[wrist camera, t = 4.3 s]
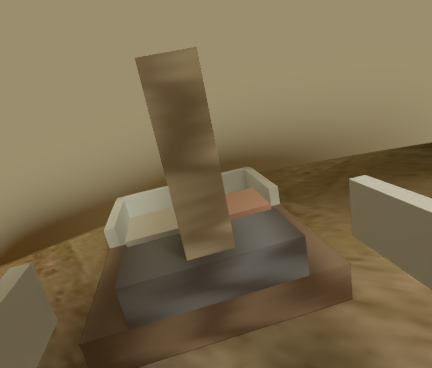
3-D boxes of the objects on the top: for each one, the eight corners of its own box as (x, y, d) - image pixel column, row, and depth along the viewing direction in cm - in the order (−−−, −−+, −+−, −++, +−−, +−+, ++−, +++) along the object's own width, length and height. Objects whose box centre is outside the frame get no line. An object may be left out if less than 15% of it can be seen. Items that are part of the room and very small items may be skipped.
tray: (254, 199, 41) (249, 166, 40) (283, 228, 32) (277, 186, 30) (127, 232, 39) (117, 198, 38) (118, 274, 30) (103, 230, 28)
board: (283, 228, 32) (279, 203, 31) (352, 299, 21) (350, 263, 20) (118, 274, 30) (109, 248, 29) (95, 380, 18) (79, 344, 17)
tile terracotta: (256, 214, 30) (251, 187, 29) (275, 235, 25) (270, 204, 24) (209, 226, 29) (203, 199, 28) (219, 251, 24) (212, 219, 24)
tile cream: (189, 231, 29) (182, 204, 28) (195, 257, 24) (188, 225, 23) (139, 245, 28) (130, 217, 27) (135, 274, 24) (125, 242, 23)
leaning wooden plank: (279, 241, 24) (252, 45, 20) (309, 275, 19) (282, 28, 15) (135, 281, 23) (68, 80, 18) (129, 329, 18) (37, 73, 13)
